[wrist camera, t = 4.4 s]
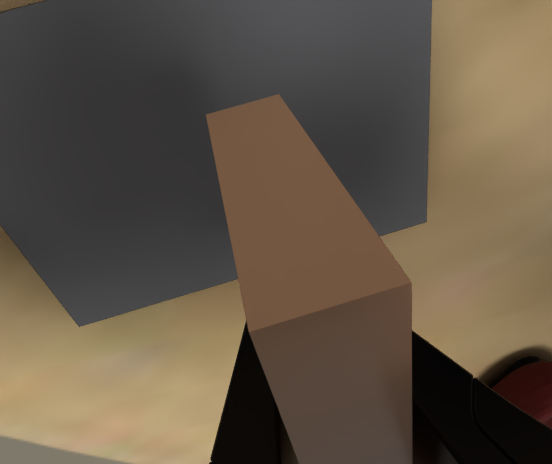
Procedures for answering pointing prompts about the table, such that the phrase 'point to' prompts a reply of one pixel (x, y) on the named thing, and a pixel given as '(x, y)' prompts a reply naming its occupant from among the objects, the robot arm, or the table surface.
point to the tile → (315, 291)
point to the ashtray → (529, 388)
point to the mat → (192, 129)
